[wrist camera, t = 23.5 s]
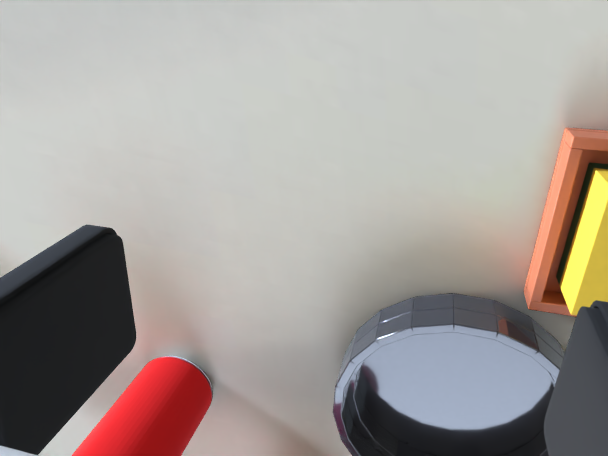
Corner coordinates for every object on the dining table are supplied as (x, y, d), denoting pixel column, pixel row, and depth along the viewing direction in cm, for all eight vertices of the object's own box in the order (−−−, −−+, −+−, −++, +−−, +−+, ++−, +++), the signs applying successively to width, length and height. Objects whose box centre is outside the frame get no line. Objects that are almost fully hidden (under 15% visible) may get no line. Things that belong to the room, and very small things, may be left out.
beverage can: (225, 409, 41) (149, 549, 31) (160, 405, 43) (69, 536, 33) (207, 349, 39) (118, 478, 29) (140, 347, 41) (34, 468, 31)
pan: (511, 252, 30) (520, 287, 26) (611, 436, 33) (631, 488, 30) (305, 334, 36) (290, 370, 33) (407, 480, 39) (403, 528, 36)
